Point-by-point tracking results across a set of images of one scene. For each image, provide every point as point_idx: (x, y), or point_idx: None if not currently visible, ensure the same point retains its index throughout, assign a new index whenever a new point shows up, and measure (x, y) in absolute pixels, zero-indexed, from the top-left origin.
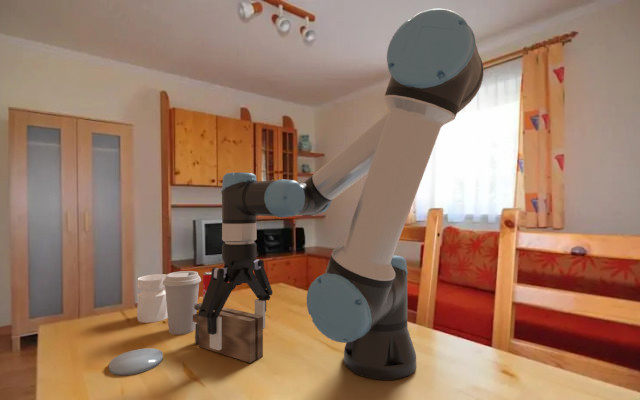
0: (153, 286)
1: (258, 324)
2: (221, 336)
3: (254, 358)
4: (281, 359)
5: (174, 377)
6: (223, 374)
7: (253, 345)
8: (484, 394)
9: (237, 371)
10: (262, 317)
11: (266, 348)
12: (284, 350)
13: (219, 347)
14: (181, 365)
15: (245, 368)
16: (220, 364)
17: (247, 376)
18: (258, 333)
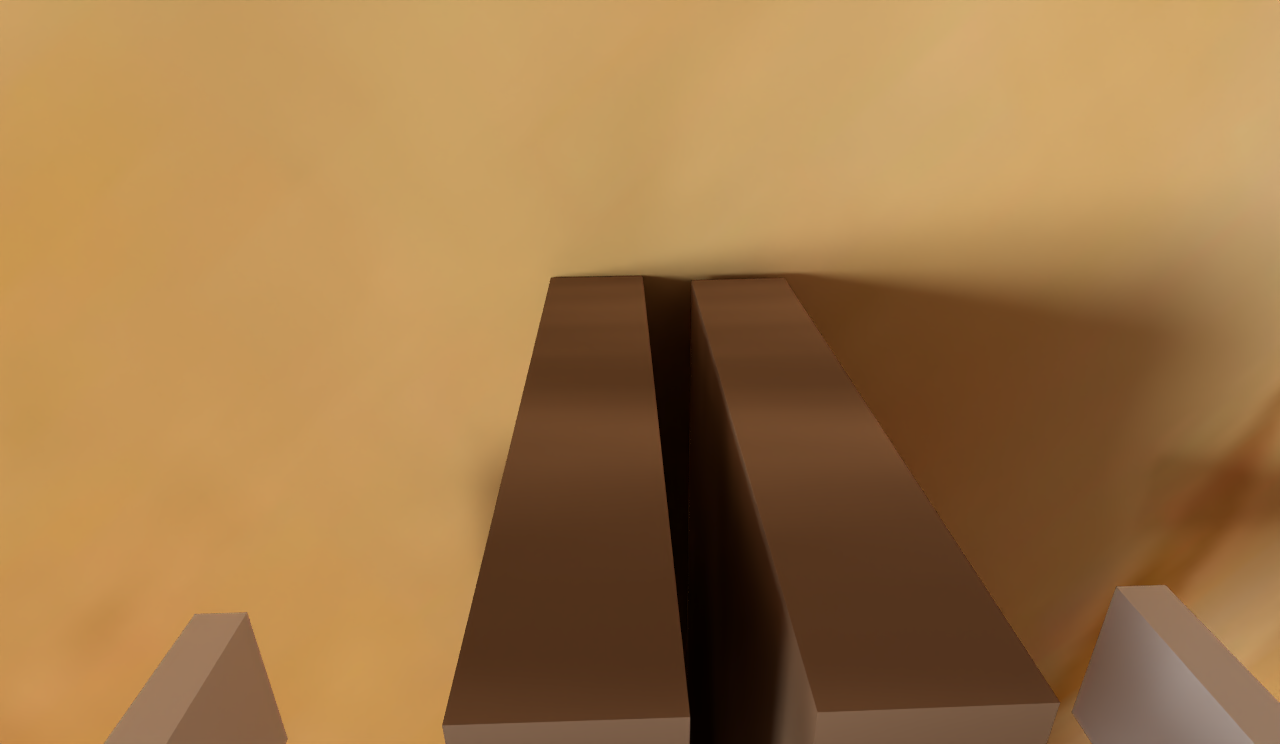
0: None
1: (653, 567)
2: (1254, 740)
3: (712, 286)
4: (453, 6)
5: (1242, 632)
6: (1079, 352)
7: (759, 359)
8: None
9: (973, 277)
10: (472, 684)
11: (355, 391)
12: (226, 158)
13: (1180, 611)
14: None
15: (880, 251)
16: None
17: (1035, 91)
18: (643, 444)
